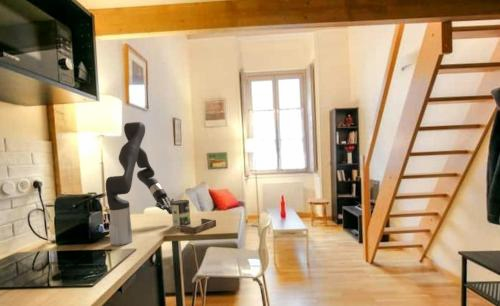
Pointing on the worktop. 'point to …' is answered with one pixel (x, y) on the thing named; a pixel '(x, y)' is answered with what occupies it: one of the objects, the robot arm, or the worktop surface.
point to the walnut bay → (199, 226)
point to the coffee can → (180, 213)
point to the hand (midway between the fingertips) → (171, 213)
